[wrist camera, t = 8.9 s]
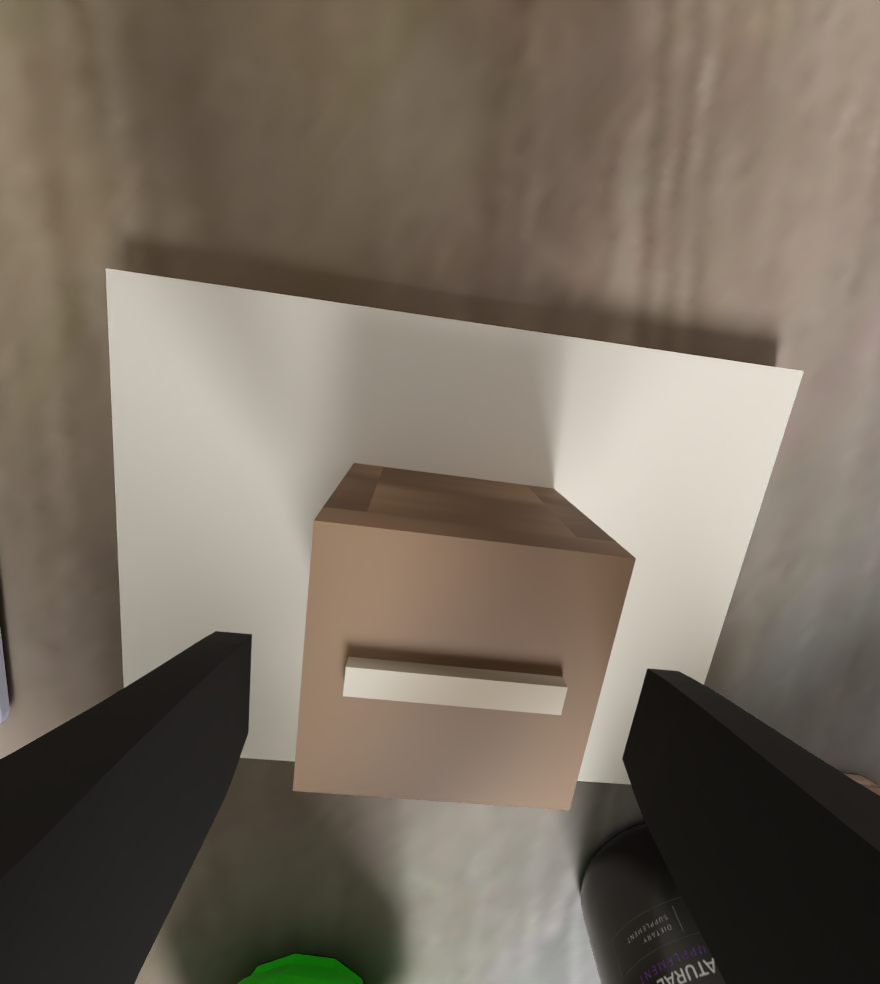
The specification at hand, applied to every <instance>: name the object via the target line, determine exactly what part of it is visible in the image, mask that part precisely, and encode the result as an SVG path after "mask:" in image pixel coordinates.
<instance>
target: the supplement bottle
mask: <svg viewBox="0 0 880 984" xmlns="http://www.w3.org/2000/svg"><path fill="white" fill-rule="evenodd" d="M581 905H582V911H583V916H584V920H585V924H586V928H587V932H588V936H589V939H590V944H591V948H592V951H593V955H594V959H595V962H596V966H597V970H598V974H599V977H600V981H601V984H726V983H725V981H724V979H723V977H722V975H721V973H720V971H719V969H718V967H717V965H716V963H715V961H714V959H713V957H712V955H711V953H710V951H709V949H708V947H707V945H706V943H705V941H704V939H703V937H702V935H701V933H700V931H699V929H698V927H697V925H696V923H695V921H694V919H693V917H692V915H691V913H690V911H689V909H688V907H687V905H686V903H685V901H684V899H683V897H682V895H681V893H680V891H679V889H678V887H677V885H676V883H675V881H674V879H673V877H672V875H671V873H670V871H669V869H668V867H667V865H666V863H665V861H664V859H663V857H662V855H661V853H660V851H659V849H658V847H657V845H656V843H655V841H654V839H653V837H652V835H651V833H650V831H649V828H648V826H647V824H646V823H644V824H641V825H638V826H635V827H633V828H630V829H628V830H626V831H624V832H622V833H620V834H619V835H617V836H615V837H614V838H613V839H611V840H610V841H609V842H607V843H606V844H605V845H604V846H603V847H602V848H601V849H600V850H599V851H598V852H597V854H596V855H595V856H594V857H593V859H592V860H591V862H590V864H589V866H588V868H587V870H586V873H585V875H584V878H583V882H582V887H581Z"/></svg>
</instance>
